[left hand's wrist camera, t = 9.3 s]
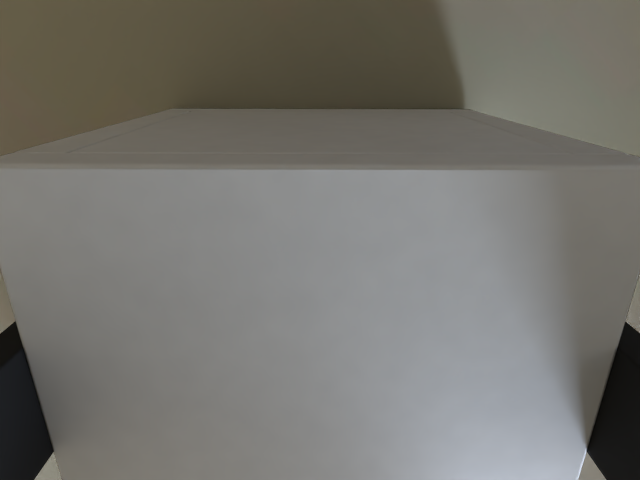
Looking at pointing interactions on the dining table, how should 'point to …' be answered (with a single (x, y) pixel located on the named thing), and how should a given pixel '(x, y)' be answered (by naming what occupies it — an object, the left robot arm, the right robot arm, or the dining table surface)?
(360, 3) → the dining table surface
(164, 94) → the dining table surface
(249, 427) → the white rectangular block
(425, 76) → the dining table surface
